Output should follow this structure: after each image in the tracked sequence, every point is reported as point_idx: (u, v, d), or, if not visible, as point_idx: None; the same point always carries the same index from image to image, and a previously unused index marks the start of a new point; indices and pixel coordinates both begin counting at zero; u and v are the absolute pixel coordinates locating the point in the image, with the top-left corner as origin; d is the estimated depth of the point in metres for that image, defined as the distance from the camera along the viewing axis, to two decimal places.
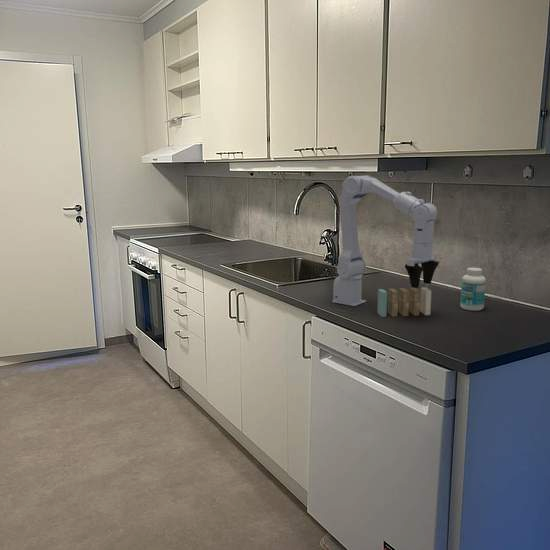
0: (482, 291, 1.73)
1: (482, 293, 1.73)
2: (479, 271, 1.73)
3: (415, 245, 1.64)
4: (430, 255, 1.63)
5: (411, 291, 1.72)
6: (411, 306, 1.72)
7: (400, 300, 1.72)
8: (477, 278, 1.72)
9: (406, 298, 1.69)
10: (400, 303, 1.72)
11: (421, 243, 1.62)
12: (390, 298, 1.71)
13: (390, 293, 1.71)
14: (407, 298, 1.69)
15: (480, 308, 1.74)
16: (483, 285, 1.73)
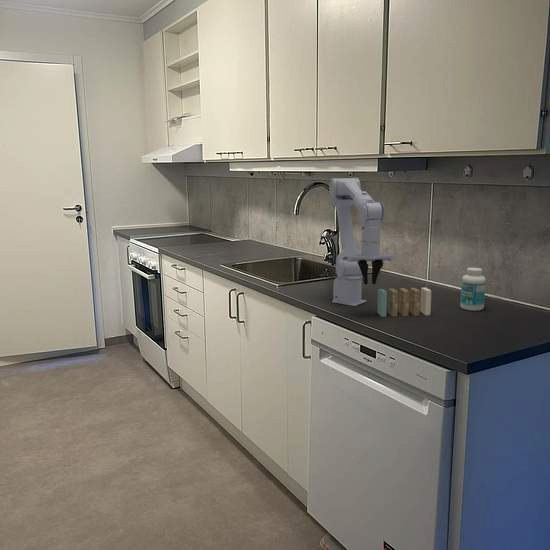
0: (482, 291, 1.73)
1: (482, 293, 1.73)
2: (479, 271, 1.73)
3: None
4: (372, 254, 1.64)
5: (411, 291, 1.72)
6: (411, 306, 1.72)
7: (400, 300, 1.72)
8: (477, 278, 1.72)
9: (406, 298, 1.69)
10: (400, 303, 1.72)
11: (363, 241, 1.65)
12: (390, 298, 1.71)
13: (390, 293, 1.71)
14: (407, 298, 1.69)
15: (480, 308, 1.74)
16: (483, 285, 1.73)
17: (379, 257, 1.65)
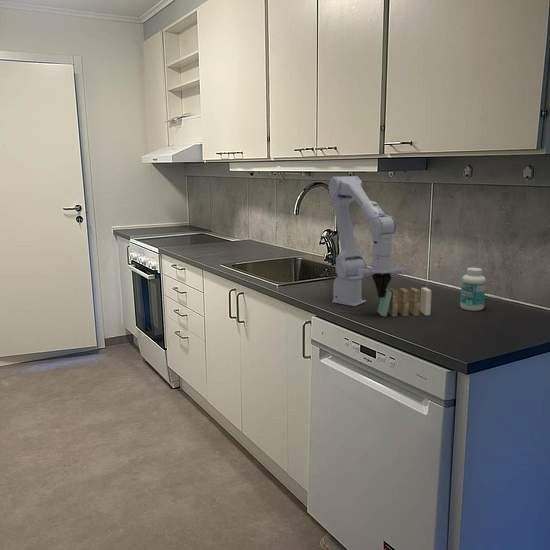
0: (482, 291, 1.73)
1: (482, 293, 1.73)
2: (479, 271, 1.73)
3: (373, 256, 1.68)
4: (383, 268, 1.65)
5: (411, 291, 1.72)
6: (411, 306, 1.72)
7: (400, 300, 1.72)
8: (477, 278, 1.72)
9: (406, 298, 1.69)
10: (400, 303, 1.72)
11: (374, 255, 1.66)
12: None
13: None
14: (407, 298, 1.69)
15: (480, 308, 1.74)
16: (483, 285, 1.73)
17: (390, 271, 1.66)
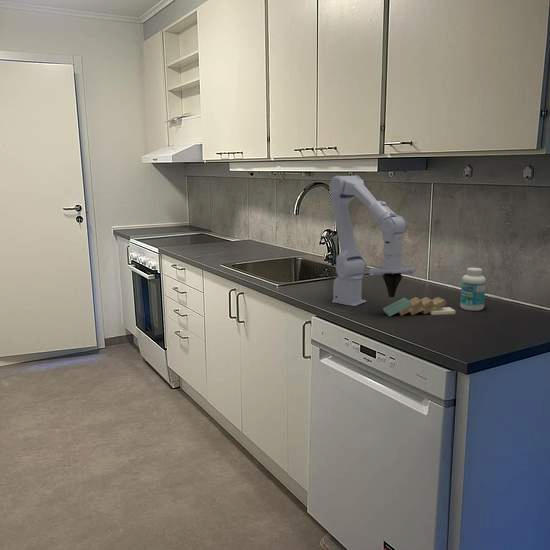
0: (482, 291, 1.73)
1: (482, 293, 1.73)
2: (479, 271, 1.73)
3: None
4: (394, 267, 1.66)
5: (436, 298, 1.75)
6: None
7: None
8: (477, 278, 1.72)
9: (427, 305, 1.70)
10: None
11: (385, 255, 1.66)
12: None
13: (414, 299, 1.72)
14: (427, 306, 1.70)
15: (480, 308, 1.74)
16: (483, 285, 1.73)
17: (401, 271, 1.66)
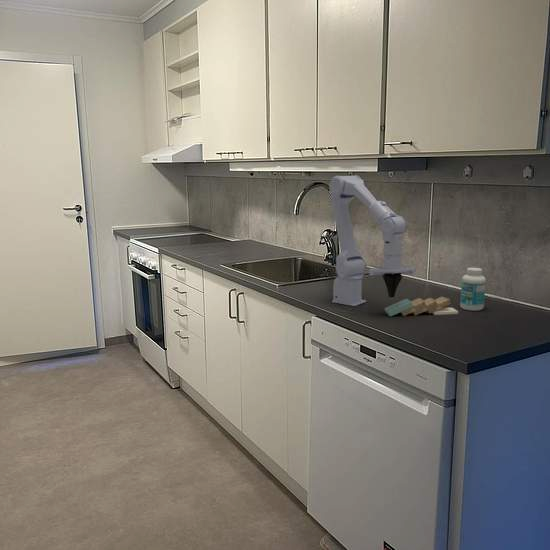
0: (482, 291, 1.73)
1: (482, 293, 1.73)
2: (479, 271, 1.73)
3: None
4: (394, 267, 1.66)
5: (440, 298, 1.75)
6: None
7: None
8: (477, 278, 1.72)
9: (430, 305, 1.70)
10: None
11: (385, 255, 1.66)
12: (413, 302, 1.71)
13: (418, 300, 1.72)
14: (430, 306, 1.70)
15: (480, 308, 1.74)
16: (483, 285, 1.73)
17: (401, 271, 1.66)
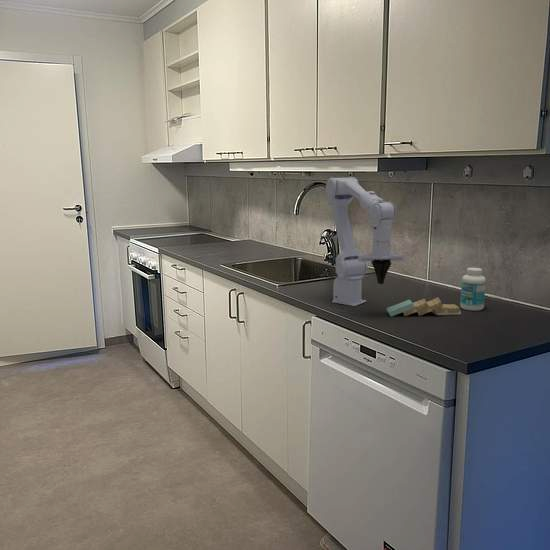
0: (482, 291, 1.73)
1: (482, 293, 1.73)
2: (479, 271, 1.73)
3: None
4: (383, 254, 1.64)
5: (452, 304, 1.73)
6: None
7: (427, 303, 1.71)
8: (477, 278, 1.72)
9: (435, 306, 1.68)
10: None
11: (374, 241, 1.65)
12: (417, 303, 1.71)
13: (421, 301, 1.71)
14: (435, 307, 1.68)
15: (480, 308, 1.74)
16: (483, 285, 1.73)
17: (390, 257, 1.65)
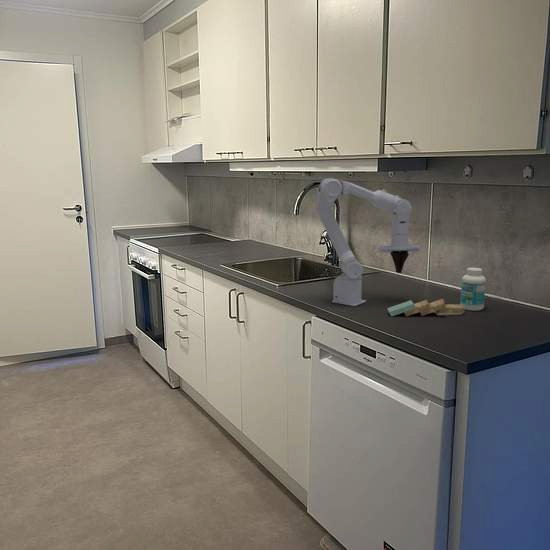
0: (482, 291, 1.73)
1: (482, 293, 1.73)
2: (479, 271, 1.73)
3: None
4: (401, 245, 1.81)
5: (458, 305, 1.73)
6: None
7: (431, 303, 1.71)
8: (477, 278, 1.72)
9: (438, 307, 1.67)
10: None
11: (393, 233, 1.82)
12: (419, 304, 1.70)
13: (423, 302, 1.70)
14: (438, 308, 1.68)
15: (480, 308, 1.74)
16: (483, 285, 1.73)
17: (408, 248, 1.81)
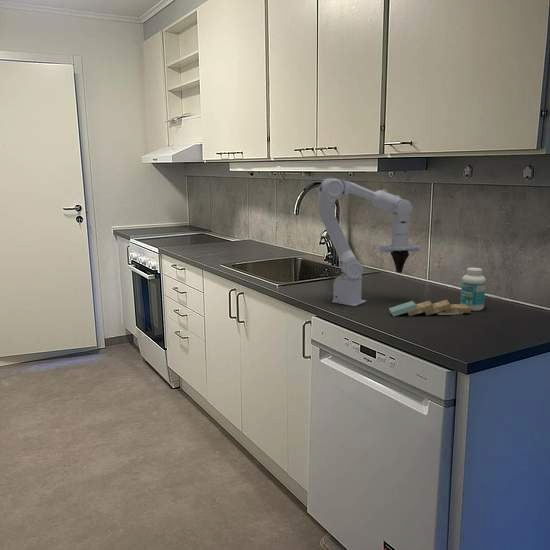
0: (482, 291, 1.73)
1: (482, 293, 1.73)
2: (479, 271, 1.73)
3: None
4: (402, 245, 1.81)
5: (463, 305, 1.73)
6: None
7: (435, 304, 1.72)
8: (477, 278, 1.72)
9: (443, 307, 1.68)
10: (433, 305, 1.72)
11: (393, 233, 1.82)
12: (422, 304, 1.71)
13: (426, 303, 1.71)
14: (443, 308, 1.68)
15: (480, 308, 1.74)
16: (483, 285, 1.73)
17: (408, 248, 1.82)
